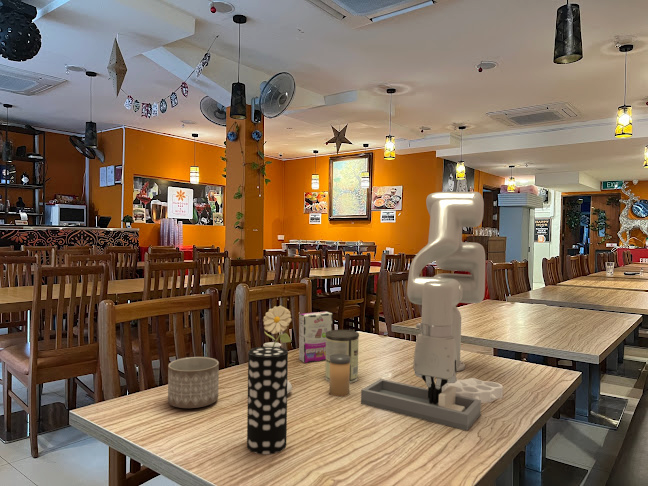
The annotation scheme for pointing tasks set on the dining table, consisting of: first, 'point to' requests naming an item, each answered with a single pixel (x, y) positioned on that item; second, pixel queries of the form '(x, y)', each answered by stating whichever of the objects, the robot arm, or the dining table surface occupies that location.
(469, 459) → the dining table surface
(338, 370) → the jar
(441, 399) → the plate
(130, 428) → the dining table surface
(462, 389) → the knuckle duster
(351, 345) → the coffee can
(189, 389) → the planter
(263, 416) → the white-spotted black cylinder
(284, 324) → the flower in vase
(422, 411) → the grey rectangular tray
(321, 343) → the candy bar box
